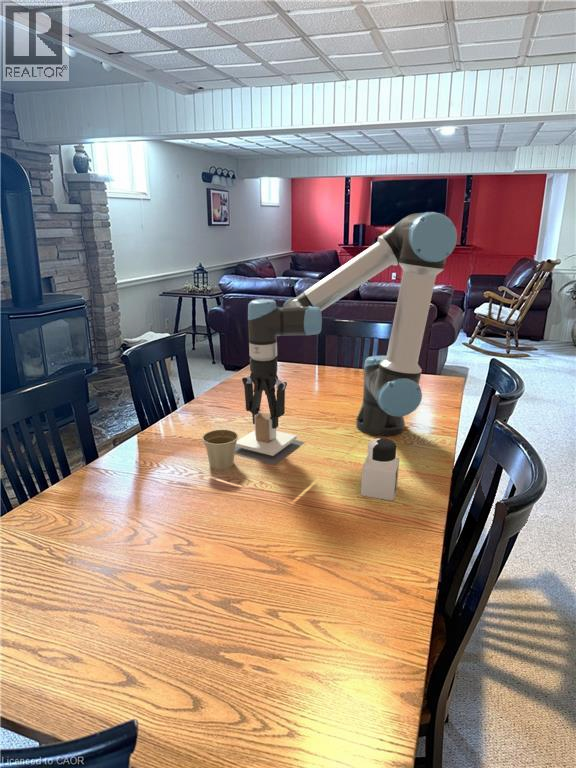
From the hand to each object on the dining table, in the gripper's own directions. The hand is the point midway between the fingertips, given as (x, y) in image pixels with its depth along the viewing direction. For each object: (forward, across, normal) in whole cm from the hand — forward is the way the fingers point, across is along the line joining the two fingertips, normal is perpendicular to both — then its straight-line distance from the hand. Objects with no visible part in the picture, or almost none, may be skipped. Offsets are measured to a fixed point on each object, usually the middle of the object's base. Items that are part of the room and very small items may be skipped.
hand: (265, 436), depth 142 cm
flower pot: (+4, -4, -15) cm, 16 cm away
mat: (+4, 0, 0) cm, 4 cm away
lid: (+2, 0, 0) cm, 2 cm away
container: (+4, +37, -6) cm, 37 cm away
